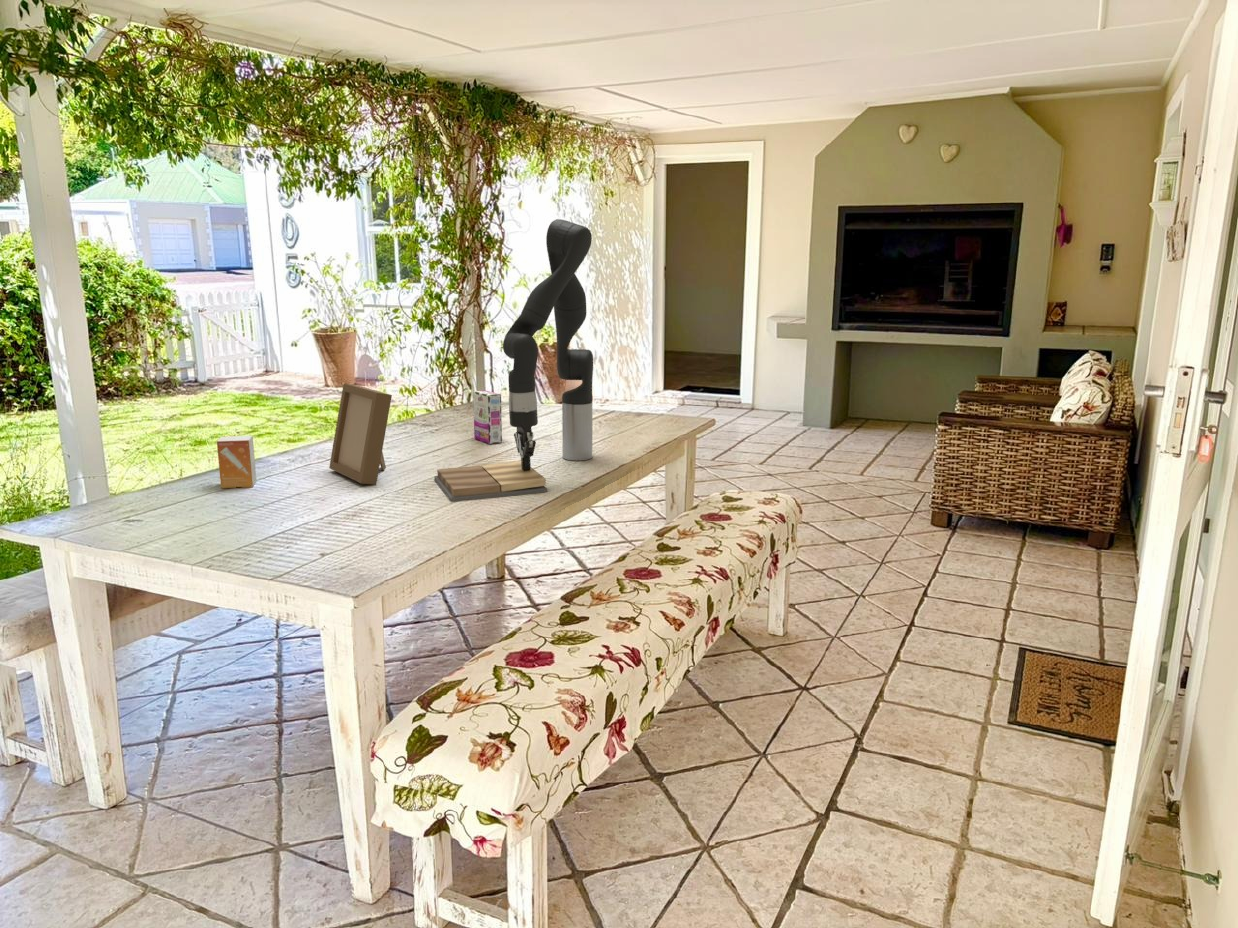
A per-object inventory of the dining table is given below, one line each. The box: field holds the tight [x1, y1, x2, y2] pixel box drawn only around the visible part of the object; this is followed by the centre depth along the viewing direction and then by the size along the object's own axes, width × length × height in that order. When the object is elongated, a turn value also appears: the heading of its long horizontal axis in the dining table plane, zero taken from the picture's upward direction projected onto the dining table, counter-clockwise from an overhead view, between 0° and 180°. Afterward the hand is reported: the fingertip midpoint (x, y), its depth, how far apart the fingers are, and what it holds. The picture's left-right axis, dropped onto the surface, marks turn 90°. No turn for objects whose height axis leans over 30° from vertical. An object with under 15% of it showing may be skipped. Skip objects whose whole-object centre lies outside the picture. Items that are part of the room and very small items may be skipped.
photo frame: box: [329, 383, 393, 486], centre depth 242 cm, size 15×22×25 cm
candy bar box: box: [472, 390, 503, 445], centre depth 288 cm, size 11×5×16 cm, turn 37°
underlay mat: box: [433, 475, 548, 502], centre depth 235 cm, size 23×26×1 cm
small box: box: [216, 435, 257, 489], centre depth 232 cm, size 8×6×13 cm
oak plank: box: [481, 459, 547, 492], centre depth 237 cm, size 22×12×2 cm, turn 22°
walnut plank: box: [436, 465, 500, 497], centre depth 232 cm, size 22×12×2 cm, turn 22°
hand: (526, 470), depth 238 cm, fingers closed
